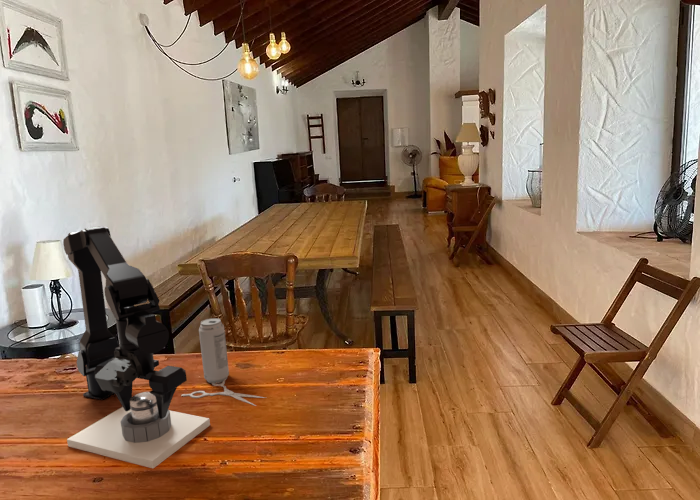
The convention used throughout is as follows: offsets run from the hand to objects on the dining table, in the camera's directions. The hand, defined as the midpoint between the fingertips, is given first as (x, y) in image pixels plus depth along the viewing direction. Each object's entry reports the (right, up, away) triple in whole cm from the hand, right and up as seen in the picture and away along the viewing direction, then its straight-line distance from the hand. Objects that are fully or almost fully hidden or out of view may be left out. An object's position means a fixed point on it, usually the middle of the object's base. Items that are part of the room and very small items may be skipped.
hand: (145, 414), depth 106 cm
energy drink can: (+8, 0, +27) cm, 28 cm away
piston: (0, -3, +1) cm, 4 cm away
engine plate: (-2, -5, +2) cm, 5 cm away
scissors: (+12, -2, +18) cm, 22 cm away
